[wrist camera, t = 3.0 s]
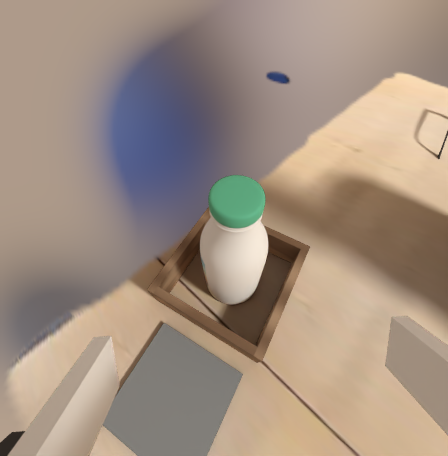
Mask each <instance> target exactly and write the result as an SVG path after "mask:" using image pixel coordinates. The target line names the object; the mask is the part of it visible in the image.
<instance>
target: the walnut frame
mask: <svg viewBox="0 0 448 456" xmlns="http://www.w3.org/2000/svg"><path fill="white" fill-rule="evenodd" d="M210 218H211V216H210V209H209V207H208V208H207V210H206V211H205V212H204V214H203V215H202V216H201V218H200V219H199V221H198V222H197V223H196V225H195V226H194V227H193V229H192V230H191V231H190V233H189V234H188V235H187V237H186V238H185V239H184V241H183V242H182V243H181V245H180V246H179V247H178V249H177V250H176V251H175V253H174V254H173V255H172V257H171V258H170V259H169V261H168V262H167V263H166V265H165V266H164V267H163V269H162V270H161V271H160V273H159V274H158V275H157V277H156V278H155V279H154V281H153V282H152V283H151V285H150V286H149V287H148V289H147V290H148V291H149V292H150V293H151V294H152V295H153V296H154V297H155V298H156V299H157V300H158V301H159V302H161V303H163V304H164V305H166V306H167V307H169V308H171V309H172V310H174V311H175V312H177V313H179V314H180V315H182V316H183V317H185V318H187V319H188V320H190V321H191V322H193V323H194V324H196V325H198V326H199V327H201V328H202V329H204V330H206V331H207V332H209V333H210V334H212V335H214V336H215V337H217V338H218V339H220V340H222V341H223V342H225V343H226V344H228V345H230V346H231V347H233V348H234V349H236V350H237V351H239V352H241V353H242V354H244V355H245V356H247V357H249V358H250V359H252V360H253V361H255V362H257V363H258V362H261V361H262V360H263V358H264V355H265V353H266V351H267V348H268V346H269V343H270V341H271V339H272V336H273V334H274V331H275V329H276V327H277V324H278V322H279V320H280V317H281V315H282V312H283V310H284V308H285V305H286V303H287V301H288V298H289V296H290V293H291V291H292V289H293V286H294V284H295V281H296V279H297V277H298V274H299V272H300V270H301V267H302V265H303V262H304V260H305V258H306V255H307V253H308V250H309V248H310V246H308V245H305V244H303V243H301V242H299V241H297V240H294V239H292V238H290V237H288V236H286V235H283V234H281V233H279V232H277V231H275V230H272V229H270V228H268V227H266V226H264V227H265V230H266V233H267V236H268V252H270V253H272V254H274V255H276V256H278V257H280V258H282V259H284V260H286V261H288V262H290V263H292V265H291V267H290V269H289V272H288V274H287V276H286V278H285V280H284V283H283V285H282V287H281V289H280V292H279V294H278V296H277V298H276V301H275V303H274V305H273V307H272V310H271V312H270V314H269V316H268V319H267V321H266V323H265V325H264V328H263V330H262V332H261V334H260V337H259V339H258V341H257V343H256V346H255V345H254V344H252V343H250V342H249V341H247V340H245V339H244V338H242V337H240V336H239V335H237V334H235V333H234V332H232V331H230V330H229V329H227V328H226V327H224V326H222V325H221V324H219V323H217V322H216V321H214V320H212V319H211V318H209V317H207V316H206V315H204V314H203V313H201V312H199V311H198V310H196V309H194V308H193V307H191V306H189V305H188V304H186V303H184V302H183V301H181V300H179V299H178V298H176V297H175V296H173V295H171V294H170V292H171V290H172V289H173V287H174V286H175V284H176V283H177V281H178V280H179V279H180V277H181V276H182V274H183V273H184V271H185V270H186V268H187V267H188V266H189V264H190V263H191V261H192V260H193V258H194V257H195V255H196V254H197V253H198V251H199V250H200V238H201V234H202V231H203V229H204V227H205V225H206V223H207V222H208V220H209V219H210Z"/></svg>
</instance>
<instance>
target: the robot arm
mask: <svg viewBox="0 0 448 456" xmlns="http://www.w3.org/2000/svg"><path fill="white" fill-rule="evenodd" d="M385 366H386V367H387V368H388V369H389V371H390V372H391V373H392V374H393V375H394V376H395V377H396V378H397V379H398V381H399V382H400V383H401V384H402V385H403V386H404V387H405V388H406V390H407V391H408V392H409V393H410V394H411V395H412V396H413V397H414V398H415V400H416V401H417V402H418V403H419V404H420V405H421V406H422V407H423V408H424V410H425V411H426V412H427V413H428V414H429V415H430V416H431V417H432V418H433V420H434V421H435V422H436V423H437V424H438V425H439V426H440V427H441V428H442V430H443V431H444V432H445V433H446V434H447V435H448V345H447V344H445V343H444V342H442V341H441V340H440V339H438V338H437V337H436V336H434V335H433V334H431V333H430V332H429V331H427V330H426V329H425V328H423V327H422V326H420V325H419V324H418V323H416V322H415V321H414V320H412V319H411V318H410V317H408V316H399V317H392V319H391V326H390V334H389V341H388V348H387V356H386V363H385ZM119 386H120V384H119V378H118V372H117V367H116V361H115V355H114V350H113V344H112V338H111V336H104V337H94V338H93V339H92V341H91V342H90V343H89V345H88V346H87V347H86V349H85V350H84V351H83V353H82V354H81V356H80V357H79V358H78V360H77V361H76V362H75V364H74V365H73V367H72V368H71V369H70V371H69V372H68V373H67V375H66V376H65V378H64V379H63V380H62V382H61V383H60V384H59V386H58V387H57V388H56V390H55V391H54V393H53V394H52V395H51V397H50V398H49V399H48V401H47V402H46V404H45V405H44V406H43V408H42V409H41V410H40V412H39V413H38V415H37V416H36V417H35V419H34V420H33V421H32V423H31V424H30V425H29V427H28V428H27V430H26V431H22V432H12V433H11V434H9V435H8V436H7V437H6V438H5V439H4V440H3V441H2V442H1V443H0V456H89V455H90V452H91V450H92V448H93V446H94V443H95V441H96V439H97V436H98V434H99V432H100V430H101V427H102V425H103V423H104V421H105V418H106V416H107V414H108V411H109V409H110V407H111V405H112V402H113V400H114V398H115V396H116V393H117V391H118V389H119Z"/></svg>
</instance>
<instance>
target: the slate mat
mask: <svg viewBox="0 0 448 456" xmlns="http://www.w3.org/2000/svg"><path fill="white" fill-rule="evenodd" d="M242 375H243V374H242V373H240V372H239V371H237V370H236V369H234V368H233V367H231V366H230V365H228V364H226V363H225V362H223V361H222V360H220V359H219V358H217V357H216V356H214V355H213V354H211V353H210V352H208V351H207V350H205V349H204V348H202V347H200V346H199V345H197V344H196V343H194V342H193V341H191V340H190V339H188V338H187V337H185V336H184V335H182V334H181V333H179V332H178V331H176V330H174V329H173V328H171V327H170V326H168V325H167V324H165V323H164V324H163V325H162V327H161V328H160V330H159V331H158V333H157V334H156V336H155V337H154V339H153V340H152V342H151V343H150V345H149V346H148V348H147V349H146V351H145V352H144V354H143V355H142V357H141V358H140V360H139V362H138V363H137V365H136V366H135V368H134V369H133V371H132V372H131V374H130V375H129V377H128V378H127V380H126V381H125V383H124V384H123V386H122V387H121V389H120V390H119V392H118V393H117V395H116V396H115V398H114V400H113V402H112V405H111V407H110V409H109V411H108V414H107V416H106V418H105V421H104V423H103V426H104V427H105V428H107V429H108V430H109V431H110V432H111V433H112V434H113V435H115V436H116V437H117V438H118V439H119V440H120V441H121V442H123V443H124V444H125V445H126V446H127V447H128V448H129V449H131V450H132V451H133V452H134V453H135V454H136V455H137V456H207V454H208V452H209V449H210V447H211V445H212V443H213V440H214V438H215V436H216V434H217V431H218V429H219V427H220V425H221V423H222V420H223V418H224V416H225V414H226V411H227V409H228V407H229V405H230V402H231V400H232V398H233V396H234V393H235V391H236V389H237V387H238V384H239V382H240V380H241V378H242Z"/></svg>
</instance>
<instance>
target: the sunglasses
mask: <svg viewBox="0 0 448 456" xmlns="http://www.w3.org/2000/svg"><path fill="white" fill-rule="evenodd" d="M447 136H448V131H447V134H446V137H445V140H444V142H443V145H442V148H441V150H440V152H439V155H438V159H440V155H441V152H442V149H443V147H444V144H445V141H446V138H447Z"/></svg>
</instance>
